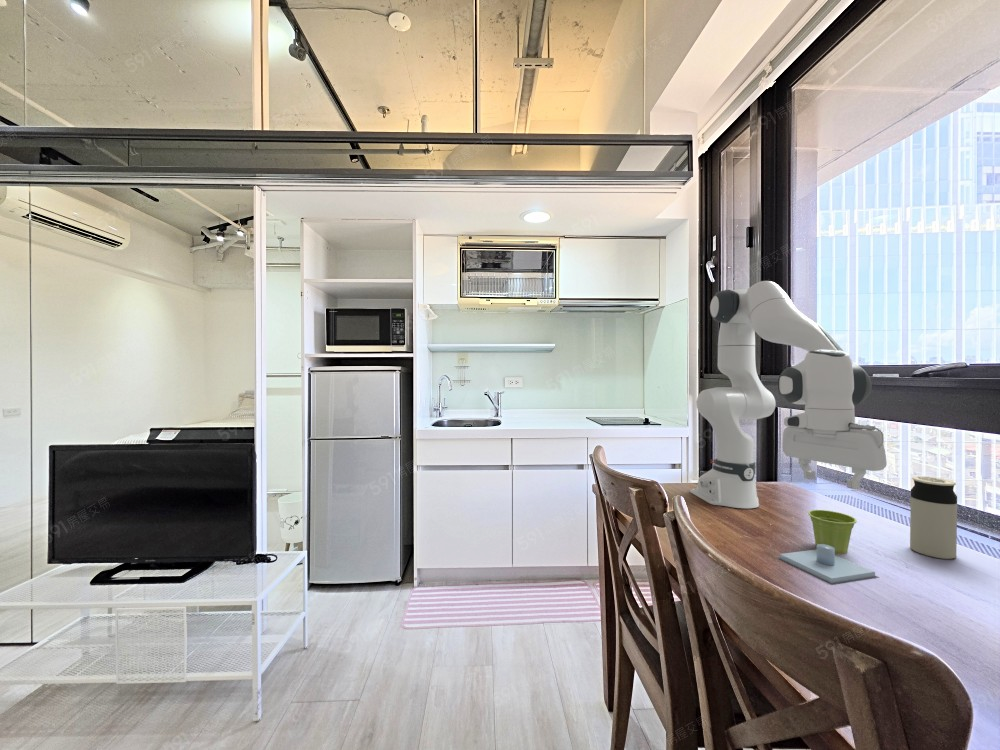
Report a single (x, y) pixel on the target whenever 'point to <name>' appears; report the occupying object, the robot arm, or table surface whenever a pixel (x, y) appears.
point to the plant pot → (832, 529)
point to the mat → (827, 581)
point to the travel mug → (933, 517)
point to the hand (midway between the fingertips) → (830, 483)
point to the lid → (827, 564)
